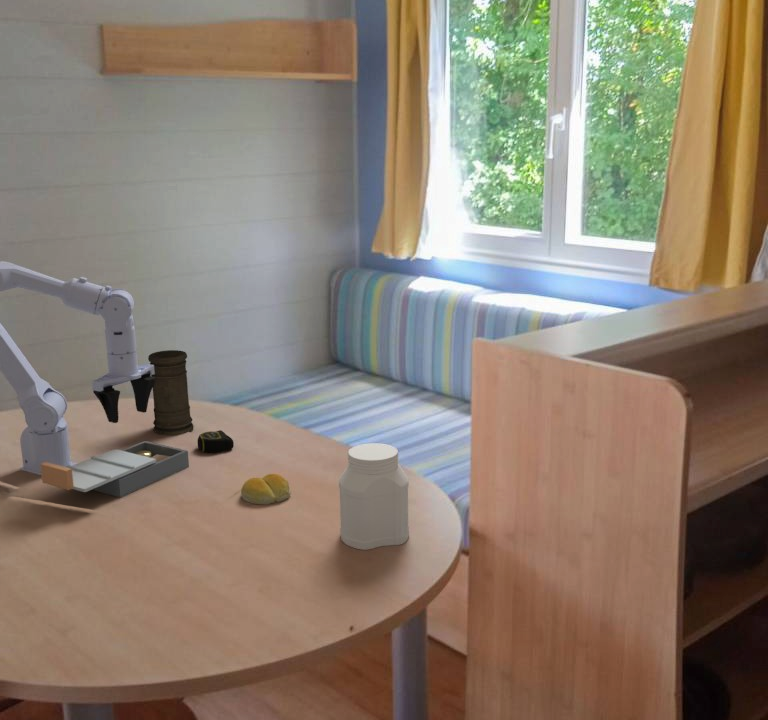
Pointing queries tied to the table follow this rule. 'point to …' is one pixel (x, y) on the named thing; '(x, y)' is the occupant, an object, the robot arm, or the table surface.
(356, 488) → the jar
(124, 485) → the tub
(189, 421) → the container
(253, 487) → the bread roll
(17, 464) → the table surface
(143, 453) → the brass knob
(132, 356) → the robot arm
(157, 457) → the walnut block
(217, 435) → the tape measure
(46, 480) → the lid
